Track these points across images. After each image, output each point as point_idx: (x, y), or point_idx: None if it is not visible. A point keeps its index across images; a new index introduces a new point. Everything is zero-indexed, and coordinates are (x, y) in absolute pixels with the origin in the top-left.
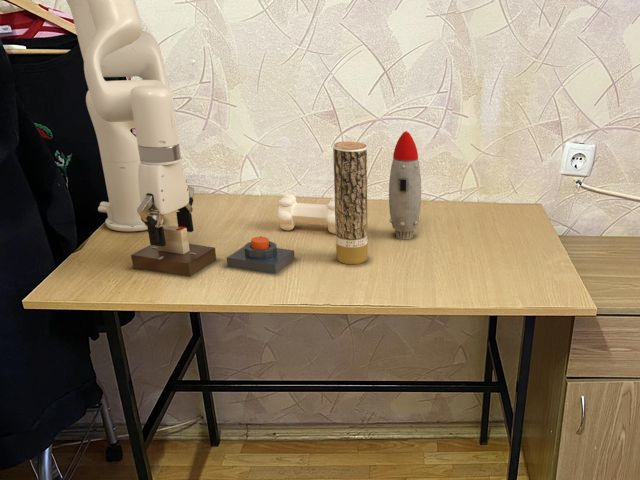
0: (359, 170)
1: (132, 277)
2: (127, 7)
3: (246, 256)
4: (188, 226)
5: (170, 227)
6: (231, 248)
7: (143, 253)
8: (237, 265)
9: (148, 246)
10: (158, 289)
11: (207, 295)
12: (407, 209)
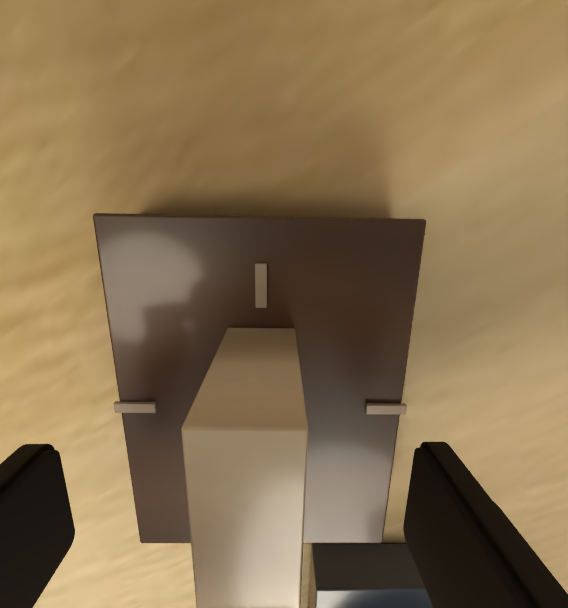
0: None
1: (48, 279)
2: None
3: None
4: (425, 562)
5: (254, 554)
6: (517, 469)
7: (150, 275)
8: (311, 590)
9: (274, 227)
10: (10, 443)
11: (63, 591)
12: None
